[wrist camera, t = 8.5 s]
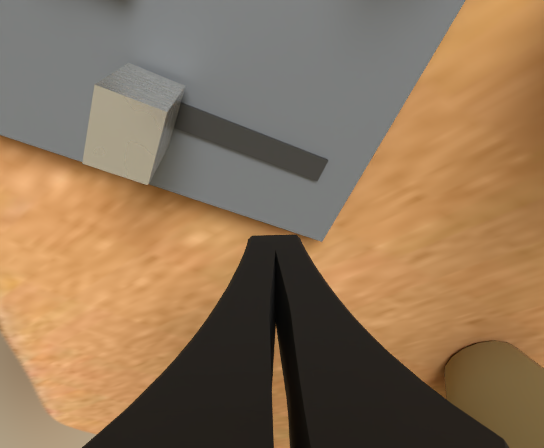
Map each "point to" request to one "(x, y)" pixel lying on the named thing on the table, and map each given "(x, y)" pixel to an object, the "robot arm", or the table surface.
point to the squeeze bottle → (499, 391)
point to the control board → (230, 89)
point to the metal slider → (131, 122)
